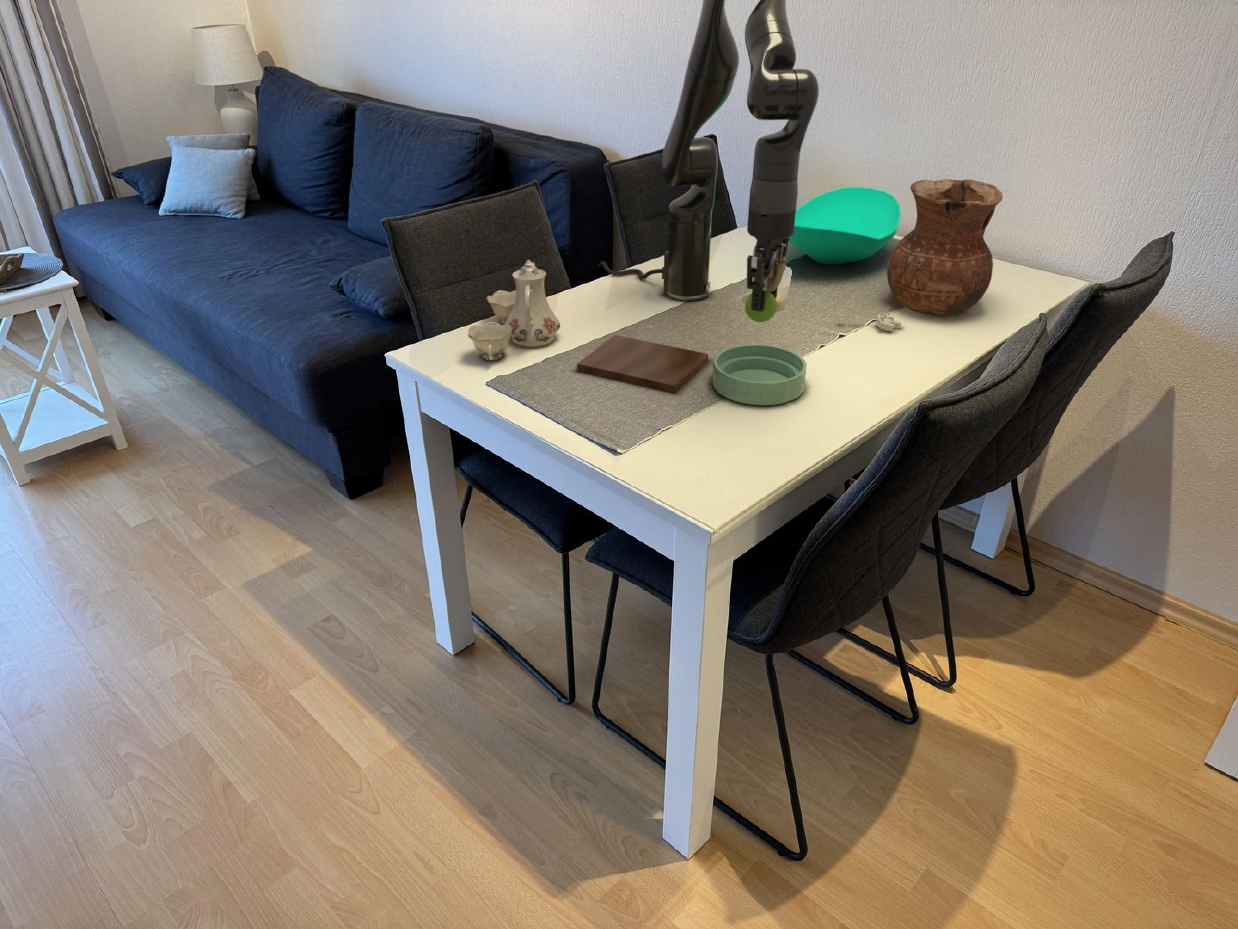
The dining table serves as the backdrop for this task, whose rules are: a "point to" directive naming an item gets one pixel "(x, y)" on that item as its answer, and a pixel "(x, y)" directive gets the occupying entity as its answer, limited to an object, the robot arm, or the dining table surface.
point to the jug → (945, 248)
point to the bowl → (759, 374)
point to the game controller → (886, 322)
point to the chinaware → (517, 316)
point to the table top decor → (845, 224)
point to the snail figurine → (767, 297)
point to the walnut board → (643, 363)
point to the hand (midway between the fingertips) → (763, 303)
